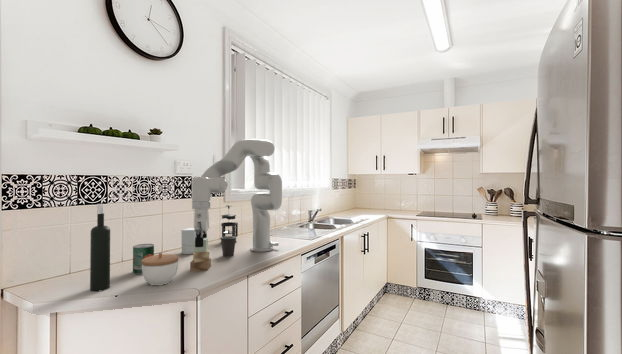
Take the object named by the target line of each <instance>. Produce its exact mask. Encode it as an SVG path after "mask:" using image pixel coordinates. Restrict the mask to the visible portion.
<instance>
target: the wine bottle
mask: <svg viewBox="0 0 622 354" xmlns="http://www.w3.org/2000/svg"><path fill="white" fill-rule="evenodd" d="M96 215H97V220H96V221H97V222H96V224H97V225H96V226H93V227H92V228H91V230H90V244H89V245H90V252H89V255H90V259H89V261H90V263H89V266H90V267H89V291H90V290H91V292H100V291H99V290H102V291H105V290H104V289H106V290H108V289H109V287H110V288H111V228H110V227H109V226H107V225H105V203H97V205H96ZM107 288H108V289H107Z"/></svg>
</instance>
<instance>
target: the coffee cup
mask: <svg viewBox="0 0 622 354" xmlns="http://www.w3.org/2000/svg"><path fill="white" fill-rule="evenodd" d="M219 240H220V244H221V243H222V244H221V250H222V258H230V257H232V258H233V257H234V256H235V249H236V248H235V246H236V243H235V240H236V241H237V237H234V236H232V235H225V236H223V237H222V236H221V237H220V238H219Z"/></svg>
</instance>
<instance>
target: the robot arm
mask: <svg viewBox="0 0 622 354" xmlns="http://www.w3.org/2000/svg"><path fill="white" fill-rule="evenodd" d="M274 153H275V144H274V142H272V141H271V140H269V139H257V138H247V139H239V140H237V141H236V142H234V144H233V145H232V146H231V148H230V149H229V150H228V152H227V153H226V154H225V155H224V157H223V158H221V159H219V160H218V161H216V162H215V163H214V164H212V165H210V166H209V167H208V168H207V169H206V170H205V171H204V172H203V174H202V175H201V176H194V177H193V178H192V180H191V209H192V210H194V219H193V220H194V221H193V225H194V227H193V228H194V231H195V232H196V235H195V247H203V238H208V230H210V218H209V216H210V215H209V214H210V213H209V210H210V209H211V194H221V193H224V192H226V190H227V189H228V185H229V184H228V181H227V179H226V178H225V177H222V176H224V175H227V174H230V173H232V172H234V171H237V170H238V169H239V168H240V167H241V165H242V163H243V162H244V160H246V158H247V157H249V158H250V159H251V160H252V162H253V167H254V168H253V169H254V172H253V174H254V176H253V178H254V179H253V185H254V188H255V189H257V190H259V191H269V192H256V193H254V194H253V195H252V197H251V198H250V204H251V210H252V246H250V247H249V250H250V252H255V253H256V252H257V253H259V252H260V253H264V252H265V253H266V252H269V251H272V250H274V247H278V246H279V242H276V241H272V240H271V215H270V213H269V211H278V210H279V209H281V206H282V204H283V203H282V201H283V200H282V199H283V181H282V177H281V176H280V174H279V173H276V172H271V170H270V167H271V165H270V162H269V160H268V158H267V157H271V156H272V155H273V154H274Z"/></svg>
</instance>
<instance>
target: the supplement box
mask: <svg viewBox="0 0 622 354" xmlns="http://www.w3.org/2000/svg"><path fill="white" fill-rule="evenodd" d="M180 231H181V255H193V250H194V240H195V235H196V232H195V231H194V227H187V228H184V229H181V230H180Z"/></svg>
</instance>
